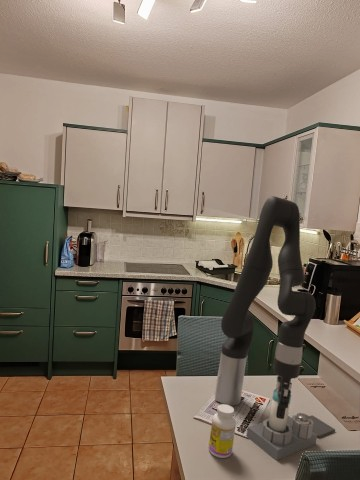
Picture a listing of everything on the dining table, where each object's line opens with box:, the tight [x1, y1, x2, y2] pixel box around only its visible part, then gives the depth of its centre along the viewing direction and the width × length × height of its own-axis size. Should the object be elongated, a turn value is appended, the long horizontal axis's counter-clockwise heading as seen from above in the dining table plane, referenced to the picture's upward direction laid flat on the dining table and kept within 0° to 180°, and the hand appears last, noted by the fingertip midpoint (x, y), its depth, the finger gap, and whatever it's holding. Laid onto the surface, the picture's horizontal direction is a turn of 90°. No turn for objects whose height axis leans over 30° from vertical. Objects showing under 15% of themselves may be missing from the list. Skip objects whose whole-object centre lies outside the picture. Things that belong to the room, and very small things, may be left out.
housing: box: [246, 414, 318, 461], centre depth 115 cm, size 18×12×7 cm, turn 124°
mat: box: [308, 414, 336, 439], centre depth 125 cm, size 9×9×1 cm
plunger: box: [296, 412, 310, 425], centre depth 115 cm, size 4×4×5 cm
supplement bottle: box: [208, 403, 237, 459], centre depth 106 cm, size 7×7×13 cm
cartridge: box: [268, 388, 292, 433], centre depth 111 cm, size 5×5×11 cm
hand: (279, 412), depth 111 cm, fingers closed on cartridge, 5 cm apart
